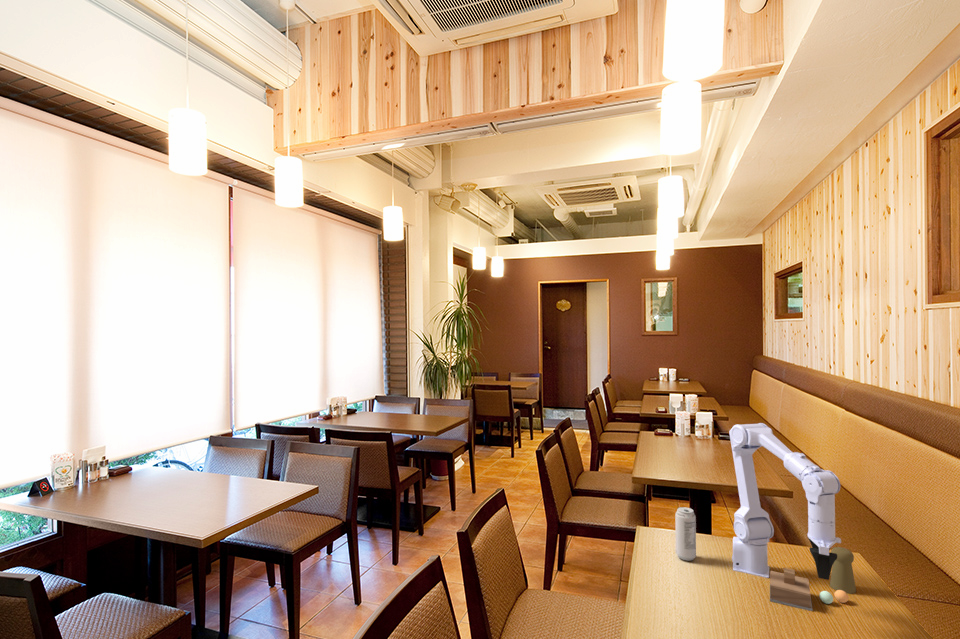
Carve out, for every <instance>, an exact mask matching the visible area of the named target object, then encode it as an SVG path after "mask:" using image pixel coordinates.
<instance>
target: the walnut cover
mask: <svg viewBox="0 0 960 639" xmlns="http://www.w3.org/2000/svg"><path fill="white" fill-rule="evenodd" d="M769 578H770V579H769V581H770V582H769V600H770V599H773V600H777V601H781V602H785V603H789V604H794V605H798V606H802V607H806V608H810V609H811V603H812V598H811V599H810V595H811V587H810V583H809V580H810V579H809V578H807V577H802V576H798V575H796V572H795V569H791V568H787V567H783V572H779V571H774V570H769Z"/></svg>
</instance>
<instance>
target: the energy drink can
mask: <svg viewBox="0 0 960 639" xmlns="http://www.w3.org/2000/svg"><path fill="white" fill-rule="evenodd" d="M674 514H675V515H674V518H675V521H674V522H675V527H674V528H675V554H676V555H677V557H678V558H679V559H680V560H683V561H687V562H688V561H693V560H695V558H696V557H697V529H696V528H697V523H696V522H697V519H696V518H697V517H696V514H695V512H694V509H692V508H691V507H687V506H686V507H685V506H681V507H680V506H679V507H678V508H677V510H676V512H675V513H674Z"/></svg>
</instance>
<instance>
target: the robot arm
mask: <svg viewBox="0 0 960 639" xmlns="http://www.w3.org/2000/svg"><path fill="white" fill-rule="evenodd" d="M728 432H729V440H730V444H731V445H730V446H731V452H732V458H733V464H734V471H735V477H736V478H735V479H736V482H737V491H738V496H739V503H740V507H739V508H738V509H737V510H736V511H735V512H734V514H733V516H734V521H733V531H734V533H735V535H736V536H733V538H732V556H731V561H732V570H733V571H734V572H740V573H744V574H748V575H752V576H755V577H756V576H757V577H761V578H766V579H769V578H770V565H768V564H769V562H768V561H769V560H768V543H770V539H772V538H773V537H774V533H775V529H774V525H773V523H772V520H771V519H770V514H769V513H768V512H767V511H766V510H765V509H763V508H762V507H761V501H760V494H759V488H758V483H757V482H758V481H757V476H756V471H755V470H756V469H755V464H754V463H755V462H754V459H753V458H754V457H753V455H754V453H755V452H756V451H757V450H758V449H760V448H761V447H763V448H764V449H766V450H768V451H769V452H770V453H772V454H773V455H774V456H776V457H777V458H778V459H780V460H781V461H783V467H784V468H785V469H786V470H787V471H788V472H789V473H791V475H793V476H794V477H796V479H797V480H798V481H800V482H801V485H802V488H803V490H804V491H805V492H804V493H805V498H806V500H807V515H808V516H807V518H808V519H807V521H808V522H807V525H808V526H807V528H808V529H807V530H808V532H807V539H808V540H809V543H810V545H811V546H810V547H809V552H810V554H811V556H812V558H813V561H814V564H815V567H816V574H817V578H819V579H820V580H821V579H822V580H827V581H829V579H830V578H831V573H832V566H833V563H834V562H835V560H836V559H837V554H835V553H831V548H832V547H833V545H835V544H836V543H837V544H842V539H841V537H838V536H837V537H836V506H835V505H836V504H835V502H836V500H835V499H836V496H835V495H836V494H838V493H839V492H840V490H841V482H840V479H839V477H838V476H837V475H836V474H835V473H834V472H833V471H831V470H828V469H827V470H826V469H823V468H820V466H819V465H817V464H815V463H813V462H812V461H811V460H810V459H808V458H807V457H806V456H807V455H805V453H803V452H801V453H800V452H798V451H794V452H793V451H792V450H790V449H789V447H787V446H786V445H785V444H784V443H783V442H782V441H781V440H780V439H779V438H778V437H777V436H775V435H774V432H773V430H772V428H770V427H769V426H768V425H767V424H765V423H763V422H759V423H745V424H734V425H733V426H732V428H731V429H730V430H729V431H728Z"/></svg>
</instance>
